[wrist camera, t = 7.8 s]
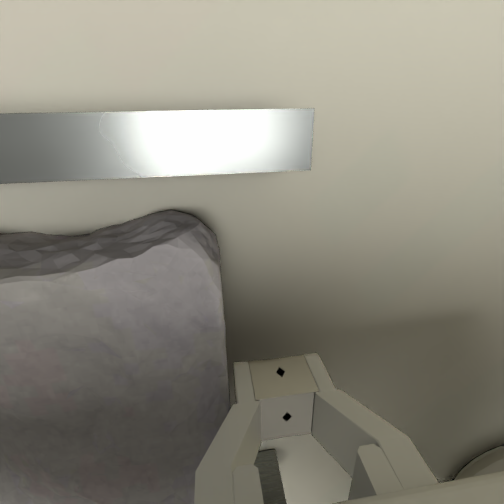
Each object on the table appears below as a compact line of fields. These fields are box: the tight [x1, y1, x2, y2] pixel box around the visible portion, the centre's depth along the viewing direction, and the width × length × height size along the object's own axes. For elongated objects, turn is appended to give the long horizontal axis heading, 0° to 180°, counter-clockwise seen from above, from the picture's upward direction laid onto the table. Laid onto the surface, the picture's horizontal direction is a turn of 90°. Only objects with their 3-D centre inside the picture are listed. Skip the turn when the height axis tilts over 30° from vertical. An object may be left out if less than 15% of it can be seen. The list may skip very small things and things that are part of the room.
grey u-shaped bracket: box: [0, 108, 314, 504], centre depth 9 cm, size 13×16×5 cm
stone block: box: [0, 210, 230, 504], centre depth 10 cm, size 12×5×10 cm
